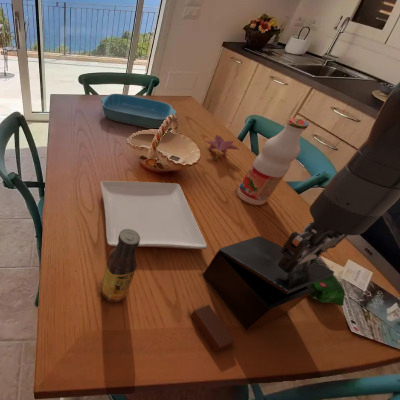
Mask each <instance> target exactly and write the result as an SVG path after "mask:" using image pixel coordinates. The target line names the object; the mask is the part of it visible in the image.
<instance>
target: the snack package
mask: <svg viewBox="0 0 400 400" xmlns="http://www.w3.org/2000/svg"><path fill="white" fill-rule="evenodd" d="M314 262H315V263H317V264H319V265H321V266H324V267H326V268H328V269H330V267H329V266H328V265H327V263H326V262H325V261H324V259H323V258H322V257H321V255H320V256H319V257H318V258H317V259H316V260H315V261H314ZM309 286H310V287H311V288H312V289H313V290H314V291H313V292H312V293H311V294H309V295H308V297H310V298H311V299H312V300H315V301H318V302H320V303H322V304H323V303H328V304H331V303H332V304H336V305H337V306H344V301H345V295H346V294H345V289H344V288H343V286H342V285H341V283H340V281H339V280H338V279H337V277H336V276H335V275H334V274H333V275H332V276H330V277H327V278H325V279H322V280H320V281H318V282H315V283H313V284H310V285H309Z"/></svg>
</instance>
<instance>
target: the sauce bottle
mask: <svg viewBox="0 0 400 400" xmlns="http://www.w3.org/2000/svg"><path fill="white" fill-rule="evenodd" d="M139 242H140V236H139V234H138V233H137V232H136V231H134V230H132V229H124V230H122V231H121V232H120V234H119V237H118V245H117V246H114V247H113V248H112V249H111V250H110V252H109V254H108V258H107V260H106V264H105V267H104V273H103V277H102V281H101V287H100V290H101V294H102V296H103V298H104V299H105V300H106V301H108V302H111V303H118V302H119V303H120V302H121V301H123V300H124V299H125V297H126V296H127V294H128V292H129V289H130V287H131V283H132V281H133V279H134V275H135V274H136V271H137V267H138V264H137V258H136V251H137V248H138V247H137V246H138V245H139Z"/></svg>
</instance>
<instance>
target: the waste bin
mask: <svg viewBox="0 0 400 400" xmlns="http://www.w3.org/2000/svg"><path fill="white" fill-rule="evenodd" d="M202 276H203V278H205V280H206V281H207V282H208V284H209V285H210V286H211V287H212V289H213V290H214V291H215V292H216V294H217V295H218V296H219V298H220V299H221V300H222V301H223V302H224V304H225V305H226V306H227V307H228V309H229V310H230V312H232V314H233V315H234V316H235V318H236V319H237V320H238V321H239V323H240V324H241V326H242V327H243V328H244V329H245V330H246V331H248V330H251V329H253V328H254V327H258V326H259V325H261V324H264V323H266V322H268V321H270V320H273V319H275V318H277V317H280V316H282V315H284V314H287V313H288V312H289V311H291V310H292V309H293V308H295V307H296V306H297V305H298V304H299V303H301V302H302V301H304V300H305V299H306V298H307V297H309V294H311V293H312V292H313V291H314V290H313V289H312V288H311V287H310V286H309V285H308V286H306V287H303V288H301V289H298V290H296V291H294V292H291V293H289V294H285V293H284V292H282V291H281V290H279V289H277V288H276V287H274V286H273V285H271V284H269V283H268V282H266V281H265V280H263V279H261V278H260V277H258V276H257V275H255V274H253V273H252V272H250V271H249V270H247V269H245V268H244V267H242V266H241V265H239V264H237V263H236V262H234V261H233V260H231V259H229V258H228V257H226V256H225V255H223V254H221V253H220V252H219V250H218V251H216V254H215V255H214V257H212V260H210V263H209V264H208V266H207V267H206V269H205V271H204V272H203V274H202Z"/></svg>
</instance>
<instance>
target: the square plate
mask: <svg viewBox="0 0 400 400" xmlns="http://www.w3.org/2000/svg"><path fill="white" fill-rule="evenodd" d="M100 190H101V194H102V201H103V207H104V217H105V235H106V243H107V245H108V246H110V247H117V245H118V237H119V234H120V232H121V231H122V230H124V229H132V230H134V231H136V232H137V233H138V234H139V236H140V242H139V245H138V246H137V248H138V247H139V248H140V247H141V248H146V247H147V248H166V249H167V248H170V249H182V250H183V249H184V250H207V249H208V245H207V242H206V240H205V238H204V235H203V233H202V231H201V229H200V227H199V225H198V222H197V220H196V218H195V216H194V214H193V211H192V210H191V209H192V208H191V207H190V205H189V203H188V201H187V198H186V196H185V193H184V191H183V189H182V187H181V185H180V184H179V183H172V182H154V181H153V182H152V181H123V180H122V181H120V180H101V181H100Z"/></svg>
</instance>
